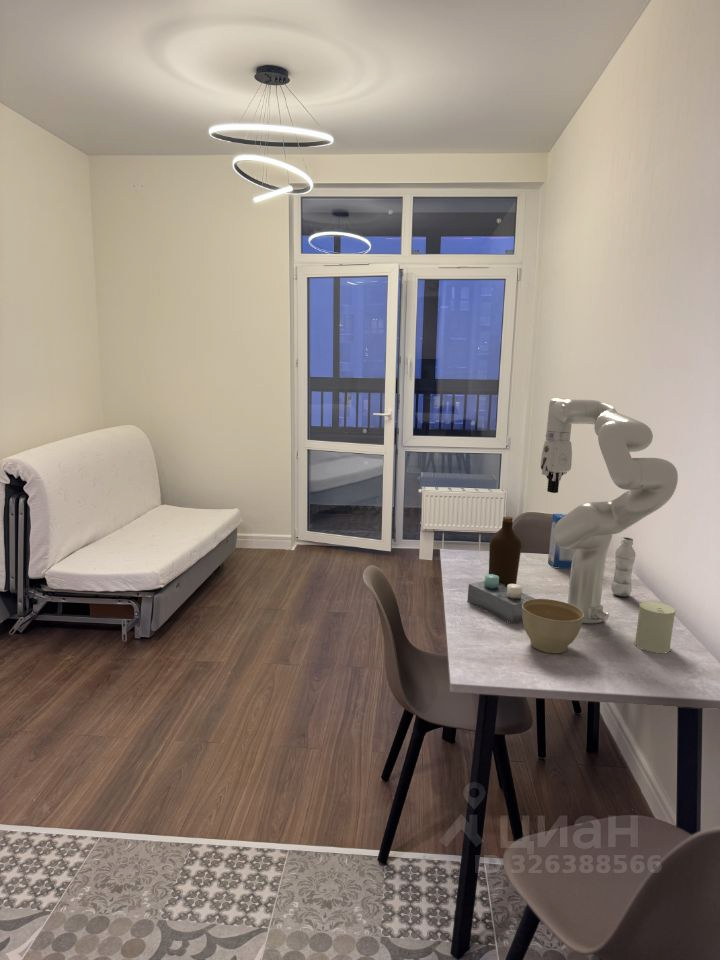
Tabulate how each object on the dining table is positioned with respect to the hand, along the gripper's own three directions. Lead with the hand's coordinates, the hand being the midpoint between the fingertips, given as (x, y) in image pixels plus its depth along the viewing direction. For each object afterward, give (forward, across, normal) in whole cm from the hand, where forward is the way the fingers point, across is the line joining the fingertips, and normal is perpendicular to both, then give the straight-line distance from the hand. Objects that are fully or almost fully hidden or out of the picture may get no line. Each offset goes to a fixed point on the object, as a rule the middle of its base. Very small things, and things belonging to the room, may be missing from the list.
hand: (552, 492), depth 212 cm
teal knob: (+35, -24, 0) cm, 43 cm away
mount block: (+35, -24, -5) cm, 43 cm away
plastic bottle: (+35, +24, -13) cm, 45 cm away
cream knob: (+35, -24, -10) cm, 44 cm away
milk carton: (+35, +32, +19) cm, 51 cm away
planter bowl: (+35, -31, -31) cm, 56 cm away
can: (+35, -4, -44) cm, 57 cm away
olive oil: (+35, -9, +10) cm, 38 cm away
